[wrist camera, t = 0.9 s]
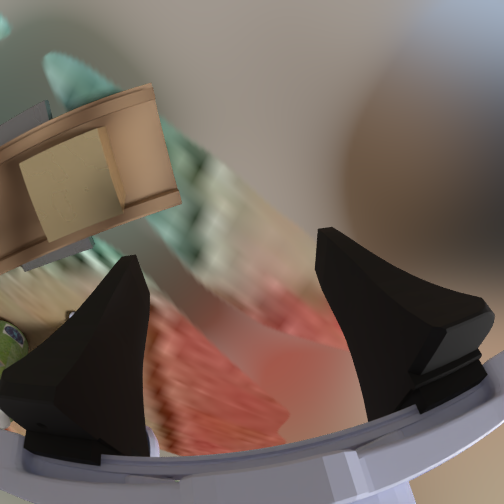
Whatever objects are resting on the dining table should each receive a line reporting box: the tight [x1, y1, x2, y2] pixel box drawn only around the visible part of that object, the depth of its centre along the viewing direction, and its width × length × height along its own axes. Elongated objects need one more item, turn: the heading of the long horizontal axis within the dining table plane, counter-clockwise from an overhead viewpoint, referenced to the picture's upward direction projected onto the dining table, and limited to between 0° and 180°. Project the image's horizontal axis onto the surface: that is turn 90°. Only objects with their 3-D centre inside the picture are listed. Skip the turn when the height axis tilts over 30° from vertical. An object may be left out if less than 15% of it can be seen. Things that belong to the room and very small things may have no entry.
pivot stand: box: [0, 100, 95, 272], centre depth 18 cm, size 8×13×3 cm, turn 10°
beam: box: [0, 83, 182, 275], centre depth 16 cm, size 25×9×4 cm, turn 100°
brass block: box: [19, 126, 126, 243], centre depth 15 cm, size 5×5×4 cm
